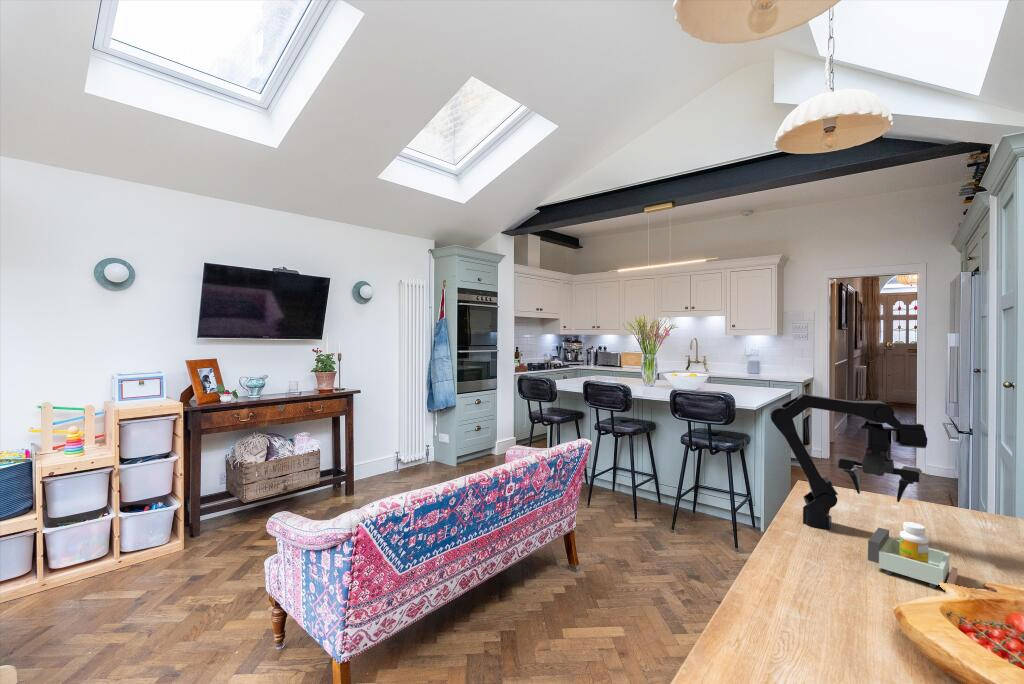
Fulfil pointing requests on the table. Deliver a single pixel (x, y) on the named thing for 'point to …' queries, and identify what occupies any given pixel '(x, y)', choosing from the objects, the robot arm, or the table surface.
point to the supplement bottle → (914, 542)
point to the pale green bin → (907, 560)
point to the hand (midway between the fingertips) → (878, 497)
